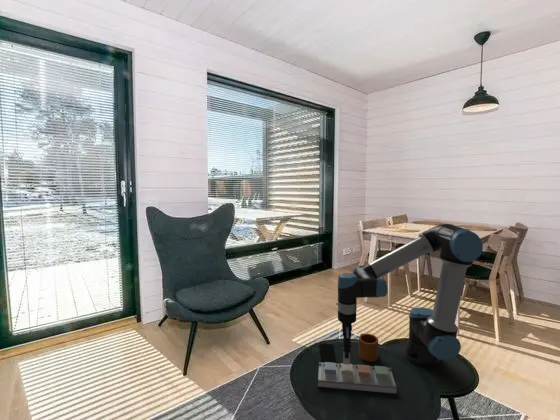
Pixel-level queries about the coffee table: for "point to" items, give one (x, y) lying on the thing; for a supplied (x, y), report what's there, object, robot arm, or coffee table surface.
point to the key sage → (381, 372)
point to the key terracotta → (364, 371)
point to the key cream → (346, 369)
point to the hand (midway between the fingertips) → (346, 363)
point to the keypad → (356, 380)
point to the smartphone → (327, 353)
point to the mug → (368, 347)
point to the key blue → (330, 368)
